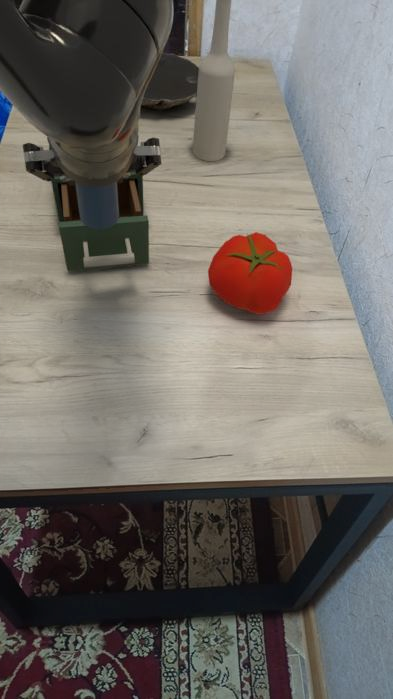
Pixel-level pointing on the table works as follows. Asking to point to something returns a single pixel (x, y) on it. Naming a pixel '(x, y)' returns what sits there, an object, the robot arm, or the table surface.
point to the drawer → (105, 233)
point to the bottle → (214, 91)
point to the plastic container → (98, 205)
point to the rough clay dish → (171, 83)
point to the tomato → (250, 273)
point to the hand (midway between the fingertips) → (94, 175)
